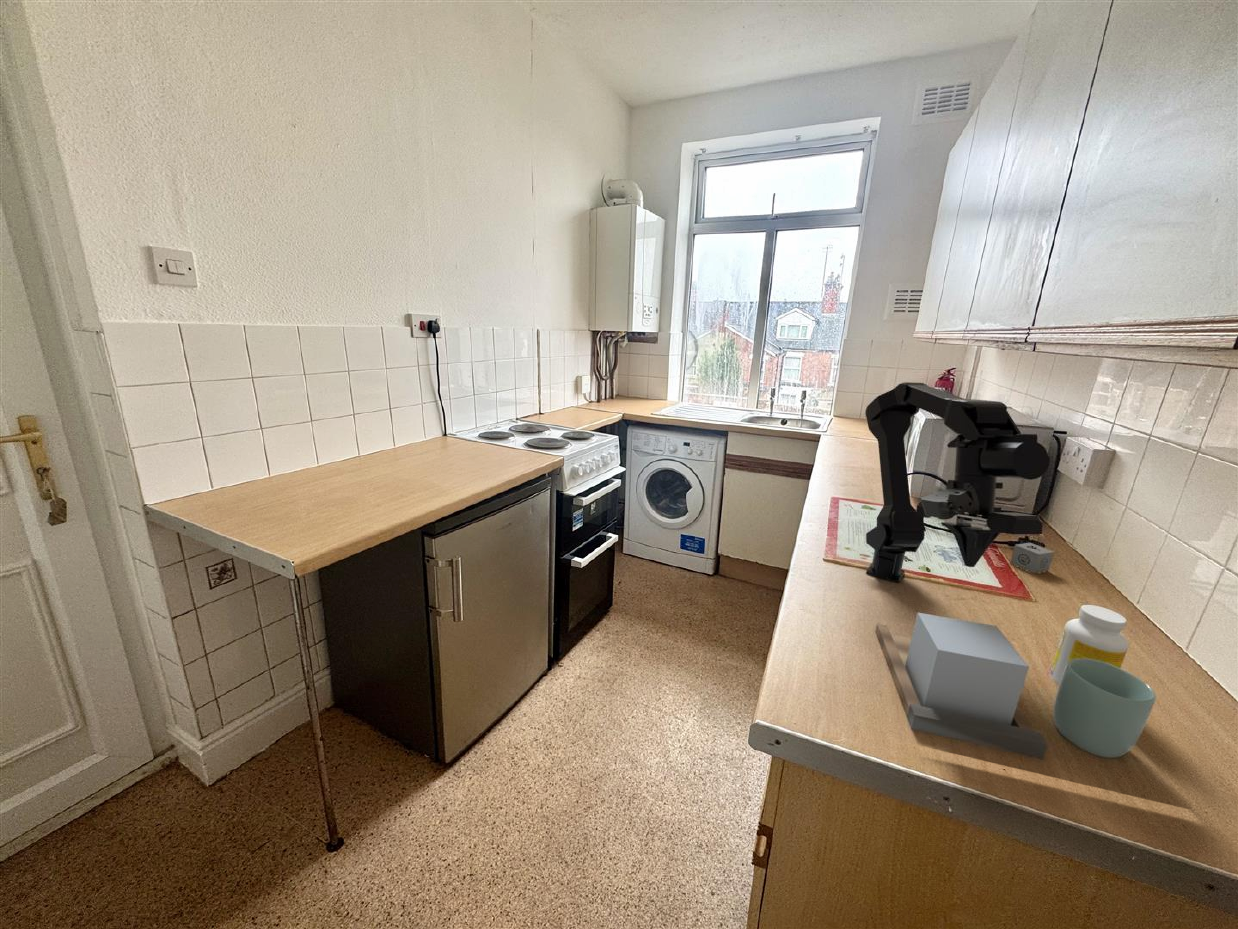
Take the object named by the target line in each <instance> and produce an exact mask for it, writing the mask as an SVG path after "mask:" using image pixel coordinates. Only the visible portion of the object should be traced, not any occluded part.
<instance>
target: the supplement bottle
mask: <svg viewBox="0 0 1238 929" xmlns="http://www.w3.org/2000/svg"><path fill="white" fill-rule="evenodd" d="M1078 614H1079V618H1073V619H1070V620H1069V621H1067V622H1066V624H1065V626H1064V628H1063V631H1062V634H1061V638H1060V640H1059V641H1060V642H1059V644H1058V648H1057V650H1056V653H1055V655H1054V656H1055V657H1054V660H1053V662H1052V665H1051V669H1050V672H1049V675H1050V678H1051V679H1052V681H1053V682H1054V683H1056V685H1058V686H1059V684H1060V681H1061V678H1062V675H1063V672H1064V669H1065V667H1066V665H1067V663H1068V662H1069V661H1070V660H1073V659H1077V658H1087V659H1094V660H1098V661H1102V662H1105V663H1108V664H1111V665H1113V666H1116V667H1118V668H1120V669H1122V665H1123V663H1124V660H1125V657H1126V655H1127V653H1128V649H1129V642H1128V639H1127V638H1126V637H1125V635H1124V634H1123V633H1121V632H1122V631H1123V630H1124V629H1125V628H1126V624H1127V619H1126V618H1125V617H1124V616H1123V615H1121V613H1118V612H1115V611H1114V610H1111V609H1108V608H1105V607H1102V606H1098V605H1093V604H1083V605H1081V607H1080V609H1079V612H1078Z"/></svg>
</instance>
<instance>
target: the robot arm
mask: <svg viewBox="0 0 1238 929" xmlns="http://www.w3.org/2000/svg"><path fill="white" fill-rule="evenodd" d="M1007 409H1008V407H1007V405H1006V404H1005V403H1003V401H998V400H997V401H995V400H986V399H975V398H974V399H973V398H972V399H971V398H963V397H961V396H958V395H955V394H953V393H949V392H947V391H943V390H941V389H939V388H935V387H933V386H932V387H931V386H930V385H927V384H926V383H924V382H911V381H910V382H909V381H908V382H907V381H904V382H901V383H898V384H897V385H896V386H895V387H894V388H893V389H891V390H888V391H885V392H884V393H882V394H880V395H877V396H876V397H875V398H874V399H873V400H872V401H871V402H870V403H869V404H868V405H867V406H866V409H865V418H866V422H867V427H868V430H869V432H870V433H871V434H872V435H873V436H874V437H875V439H876V440H877V443H878V444H877V445H878V447H877V448H878V456H879V457H878V458H879V467H880V468H879V469H880V477H881V488H882V497H883V506H882V508H881V510H880V511H879V513H878V515H877V517H876V526H875V527H874V528H872V529H871V530H869V531H867V532H866V533H865V539H866V540H865V543H866V544H867V546H870V547H871V548H872V549H873V550H874V552H873V556H872V561H871V563H870V565H869V566H868V568H867V569H866V571H865V573H866V574H868V575H871V576H874V577H878V578H881V579H884V580H887V581H890V582H894V583H897V584H899V583H900V582H901V580H902V578H903V577H904V574H905V570H904V569H903V566H904V560H905V555H906V553H907V552H908V553H917V551H918V549H919V547H920V546H921V544H922V543H923V542H924V539H925V534H926V533H925V532H926V531H927V530H926V527H925V522H924V520H925V519H931V517H933V518H937V519H938V520H942V521H943V520H944V521H943V522H941V523H940V524H941V526H942V527H946V528H947V529H948V530H949V531H950V532H951V533H952V534H953V536H954V538H955V541H956V543H957V545H958V548H959V552H960V555H961V558H962V562H963V563H964V566H965V567H969V568H974V567H975V566H976V565H977V564H978V562H979V561H980V560H981V558H982V557H983V555H984V554H985V553H986V552H987V550H988V548H989V546H991V545H992V543H993V542H994V540H996V539H997V538H998V536H999V535H1000V534H1005V535H1006V534H1007V535H1043V524H1044V523H1043V521H1042V520H1041V519H1040V518H1039V516H1038V515H1035V514H1034V515H1033V514H1028V513H1020V512H1002V506H996V496H997V490H999V489H1004V482H999V481H997V479H998V478H1006V479H1017V480H1029V481H1031V480H1037V479H1039V478H1041V477H1042V476H1044V474H1045V473H1046V472H1047V470H1048V469H1049V467H1050V462H1051V461H1050V460H1051V458H1050V457H1051V456H1049V454H1048V451H1047V449H1046V447H1044V446H1043V444H1041V443H1039V442H1038V434H1037V433H1021V430H1020V429H1019V428H1018V426H1017V424H1016V423H1015V421H1014V420H1013V418H1012V416H1011V415H1010V413H1009V412H1008V410H1007ZM920 410H922V411H925V412H927V413H930V414H932V415H934V416H936V417H939V418H941V419H942V420H943V424H944V426H946V427H947V428H949V429H950V430H951V431H952V432H953V433H955V434H956V436H955V438H954V439H952V440H951V441H949V442H948V443H947V448H950V449H955V450H956V451H955V461H954V462H955V465H954V466H955V467H954V479H948V480H947V482H946V487H945V489H942V490H939V491H938V490H937V491H936V492H932V493H931V494H928V495H925V496H923V497H921V498H920V502H919V503H917V505H916V508H915V507H914V506H913V505H912V503H911V495H910V494H911V493H910V485H909V475H908V466H907V456H906V446H905V445H906V444H905V436H906V434H907V433H908V431H909V429H910V427H911V425H912V418H913V417H915V415H916V414H918V413H919V412H920ZM924 518H925V519H924Z"/></svg>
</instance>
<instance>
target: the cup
mask: <svg viewBox="0 0 1238 929" xmlns="http://www.w3.org/2000/svg"><path fill="white" fill-rule="evenodd" d="M1155 701H1156V693H1155V691H1154V690H1153V688H1152V687H1151V686H1150V685H1148V683H1146V682H1145V681H1143V680H1142V679H1141V678H1139V677H1137V676H1136V675H1134V674H1132V673H1130V672H1128V671H1126V670H1125V669H1123V668H1118V667H1116V666H1113V665H1111V664H1108V663H1105V662H1102V661H1098V660H1094V659H1087V658H1077V659H1073V660H1070V661H1069V662H1068V663H1067V665H1066V667H1065V669H1064V672H1063V675H1062V678H1061V681H1060V684H1059V685H1058V687H1057V691H1056V695H1055V699H1054V703H1053V722H1054V724H1055V727H1056V729H1057V730H1058V732H1059V733H1060V734H1061V735H1062V736H1063V737H1064V738H1065V739H1067V741H1069V742H1070V743H1072V744H1073V745H1075V746H1076V747H1078V748H1079V749H1081V750H1083V751H1085V752H1088V753H1090V754H1092V755H1095V756H1098V757H1102V758H1108V759H1109V758H1110V759H1112V758H1114V759H1115V758H1119V757H1121V756H1124V755H1125V754H1127V753H1128V752H1129V751H1131V749H1133V747H1134V746H1135V744H1136V743H1137V742H1138V740H1139V738H1140V737H1141V735H1142V733H1143V731H1144V729H1145V726H1146V724H1147V722H1148V720H1149V717H1150V714H1151V712H1152V709H1153V708H1154V704H1155Z"/></svg>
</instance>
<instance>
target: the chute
mask: <svg viewBox="0 0 1238 929" xmlns="http://www.w3.org/2000/svg"><path fill="white" fill-rule="evenodd" d="M874 633H875V635H876V638H877V642H878V643H879V646H880V650H881V651H882V654H883V656H884V660H885V663H886V665H887V667H888V670H889V673H890V676H891V678H892V682H893V683H894V686H895V689H896V692H897V695H898V696H899V700H900V702H901V706H902V708H903V712H904V714H905V716H906V719H907V722H908V724H909V726H910V729H911V730H914V731H918V732H924V733H927V734H932V735H936V736H940V737H945V738H949V739H954V740H957V741H962V742H965V743H966V742H967V743H970V744H975V745H979V746H984V747H987V748H991V749H992V748H993V749H996V750H1001V751H1006V752H1010V753H1013V754H1014V753H1015V754H1018V755H1019V754H1020V755H1023V756H1027V757H1032V758H1036V759H1041V760H1044V759H1045V755H1046V753H1047V749H1048V747H1049V744H1048V742H1047V740H1046V739H1045V738H1044V736H1043V734H1041V731H1038V730H1035V729H1034V727H1033V726H1032V724H1031V723H1030V721H1029V720H1028V719H1027V717H1026V715H1025V714H1024V713H1023V711H1022V710H1021V708H1020V706H1018V704H1017V707H1016V710H1015V713H1014V717H1013V720H1012V723H1011V726H1010V725H1006V724H1001V723H997V722H992V721H987V720H983V719H978V718H974V717H969V716H964V715H960V714H955V713H951V712H946V711H941V710H937V709H932V708H928V707H923V706H921V705H920V702H919V700H918V698H917V695H916V693H915V690H914V688H913V686H912V683H911V681H910V679H909V676H908V674H907V671H906V669H905V665H906V660H907V656H908V652H909V647H910V643H911V639H912V637H908V636H907V637H906V636H901V635H896V634H891V631H890V628H889V626H888V625H887V624H882V623H876V627H875V631H874Z"/></svg>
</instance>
